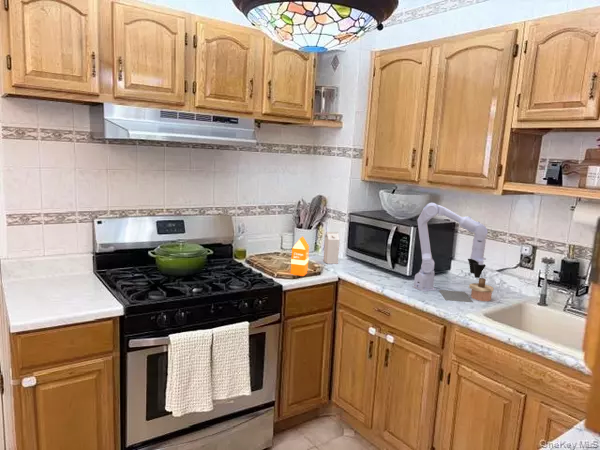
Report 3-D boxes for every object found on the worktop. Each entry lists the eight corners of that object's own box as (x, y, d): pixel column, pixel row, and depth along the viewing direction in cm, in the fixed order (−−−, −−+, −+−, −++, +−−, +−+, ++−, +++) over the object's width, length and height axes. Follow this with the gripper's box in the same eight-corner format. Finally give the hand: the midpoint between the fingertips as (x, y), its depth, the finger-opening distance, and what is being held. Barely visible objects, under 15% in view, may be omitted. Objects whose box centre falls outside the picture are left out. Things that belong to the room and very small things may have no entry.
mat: (445, 300, 212) (445, 300, 212) (438, 290, 228) (438, 289, 228) (473, 303, 211) (473, 302, 211) (464, 292, 227) (464, 291, 226)
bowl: (482, 302, 212) (483, 292, 211) (467, 296, 220) (468, 287, 219) (494, 300, 217) (496, 290, 216) (479, 294, 224) (480, 285, 223)
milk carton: (323, 261, 275) (325, 230, 272) (334, 260, 277) (336, 230, 273) (326, 264, 268) (328, 233, 265) (337, 263, 270) (340, 233, 267)
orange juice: (290, 274, 242) (292, 238, 239) (294, 270, 251) (296, 235, 247) (304, 276, 240) (306, 239, 237) (307, 271, 249) (310, 236, 246)
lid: (483, 293, 210) (484, 283, 209) (464, 286, 219) (465, 276, 218) (498, 290, 216) (499, 280, 215) (479, 284, 225) (480, 274, 224)
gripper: (491, 252, 211) (487, 280, 214) (482, 246, 225) (478, 272, 228) (476, 251, 212) (472, 279, 214) (467, 245, 226) (464, 270, 228)
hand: (474, 275), depth 221 cm, fingers open, 7 cm apart
